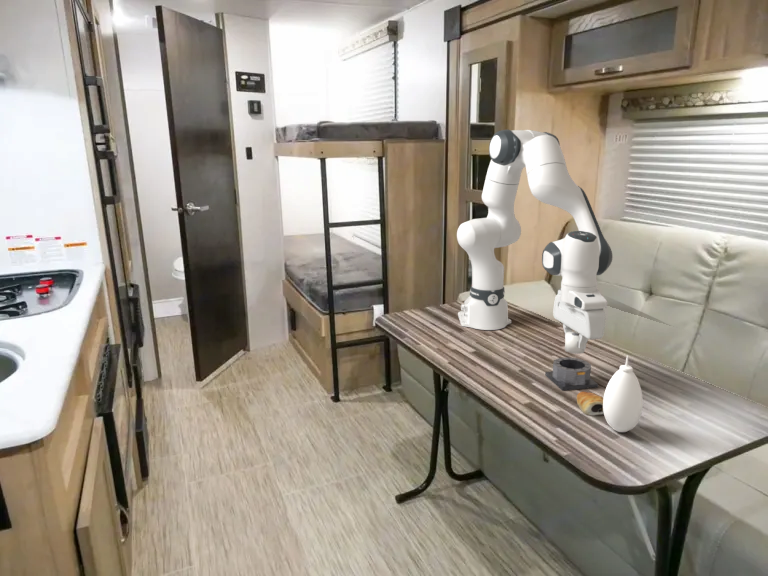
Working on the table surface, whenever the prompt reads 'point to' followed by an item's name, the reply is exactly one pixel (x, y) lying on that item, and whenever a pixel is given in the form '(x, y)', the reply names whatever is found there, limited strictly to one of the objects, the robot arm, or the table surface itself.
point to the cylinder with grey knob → (572, 343)
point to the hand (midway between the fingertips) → (575, 344)
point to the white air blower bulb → (623, 400)
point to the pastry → (590, 403)
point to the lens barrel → (571, 374)
